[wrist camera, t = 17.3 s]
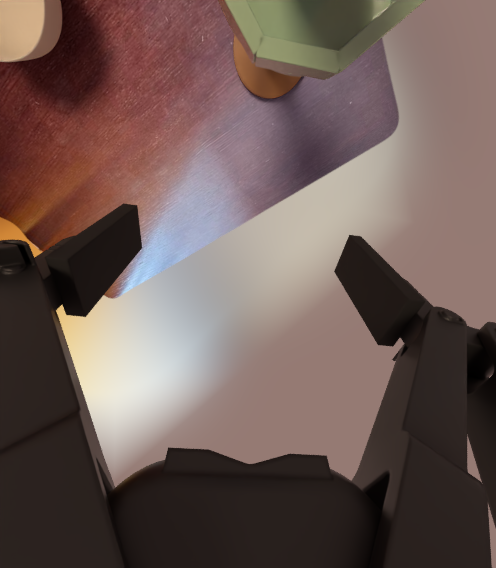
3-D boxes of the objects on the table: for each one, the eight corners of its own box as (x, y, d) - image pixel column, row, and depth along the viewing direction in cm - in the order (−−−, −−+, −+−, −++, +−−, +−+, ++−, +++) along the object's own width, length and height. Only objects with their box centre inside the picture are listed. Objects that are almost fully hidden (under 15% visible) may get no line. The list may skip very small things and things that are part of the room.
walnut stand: (318, 4, 35) (470, -238, 11) (297, 104, 42) (366, 82, 18) (238, -14, 34) (222, -323, 10) (230, 91, 41) (208, 50, 17)
